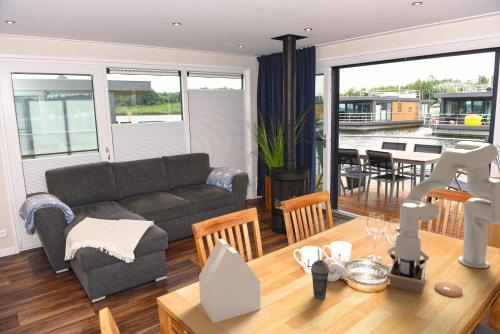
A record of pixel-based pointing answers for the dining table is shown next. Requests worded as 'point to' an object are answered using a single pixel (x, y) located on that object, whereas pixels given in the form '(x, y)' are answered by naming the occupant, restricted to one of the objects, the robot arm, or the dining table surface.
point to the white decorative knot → (336, 269)
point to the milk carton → (228, 284)
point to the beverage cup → (319, 278)
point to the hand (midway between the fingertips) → (406, 271)
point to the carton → (405, 281)
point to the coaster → (448, 289)
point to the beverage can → (406, 268)
